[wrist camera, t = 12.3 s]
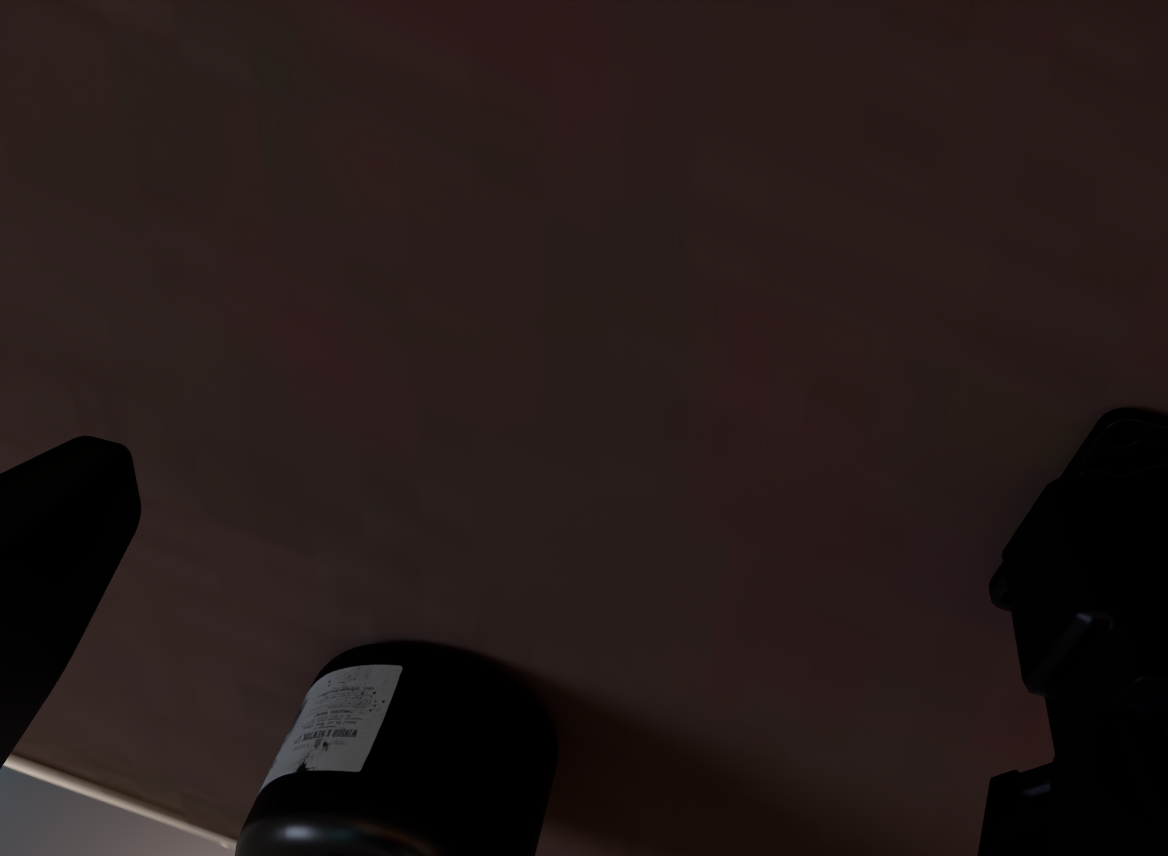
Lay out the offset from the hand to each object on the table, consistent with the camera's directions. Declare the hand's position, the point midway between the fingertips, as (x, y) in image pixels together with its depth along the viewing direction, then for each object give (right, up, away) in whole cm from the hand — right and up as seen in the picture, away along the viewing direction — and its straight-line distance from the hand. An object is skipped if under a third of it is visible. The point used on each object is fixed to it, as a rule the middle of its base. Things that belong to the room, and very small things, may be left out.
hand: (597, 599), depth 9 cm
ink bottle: (-5, -8, +26) cm, 28 cm away
